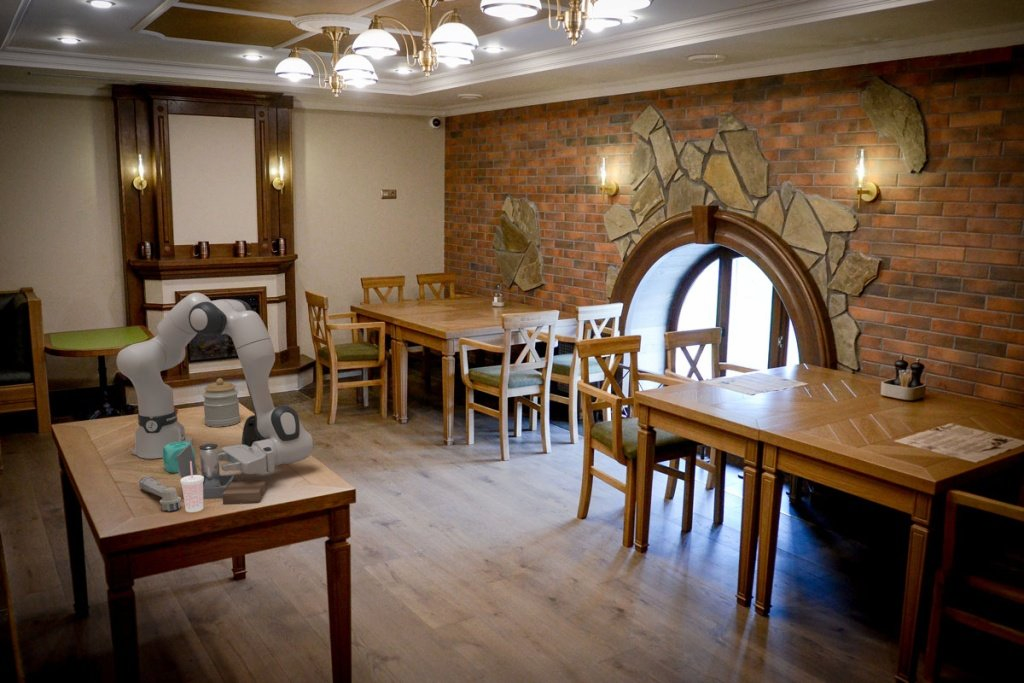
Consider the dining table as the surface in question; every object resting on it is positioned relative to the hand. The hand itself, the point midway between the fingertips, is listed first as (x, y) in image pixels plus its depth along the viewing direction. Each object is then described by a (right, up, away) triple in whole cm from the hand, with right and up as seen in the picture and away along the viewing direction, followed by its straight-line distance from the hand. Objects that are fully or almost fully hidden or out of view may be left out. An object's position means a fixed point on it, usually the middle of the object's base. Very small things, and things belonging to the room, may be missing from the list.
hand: (217, 464), depth 244 cm
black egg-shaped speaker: (+4, -3, +28) cm, 29 cm away
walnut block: (+10, -9, -5) cm, 14 cm away
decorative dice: (-19, -5, +20) cm, 29 cm away
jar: (-24, +5, +74) cm, 78 cm away
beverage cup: (-1, -11, -14) cm, 17 cm away
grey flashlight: (-14, -10, -6) cm, 18 cm away
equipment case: (-1, -8, 0) cm, 8 cm away
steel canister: (-1, -8, 0) cm, 8 cm away
